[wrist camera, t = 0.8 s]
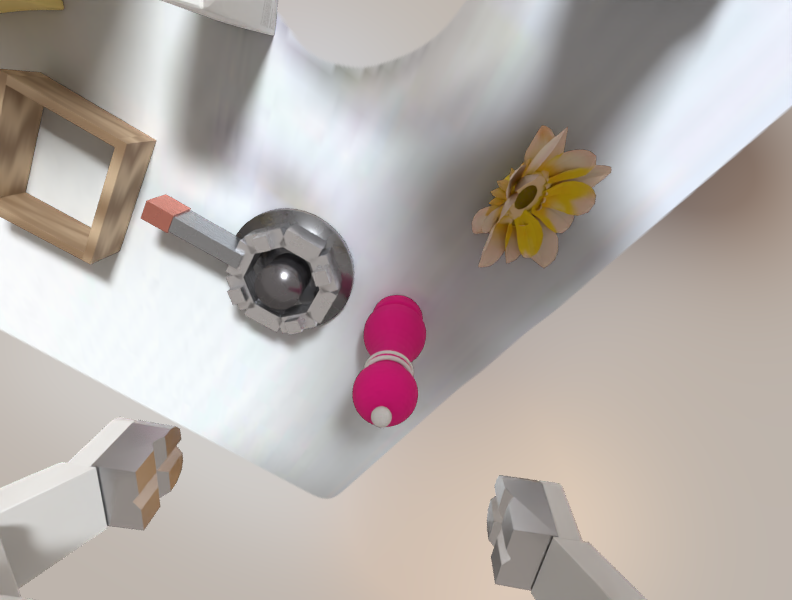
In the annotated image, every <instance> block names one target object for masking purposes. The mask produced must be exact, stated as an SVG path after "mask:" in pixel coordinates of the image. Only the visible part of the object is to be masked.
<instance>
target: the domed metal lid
mask: <svg viewBox="0 0 792 600" xmlns="http://www.w3.org/2000/svg"><path fill="white" fill-rule="evenodd" d="M285 222H289V224H290V226H292V225H293V224H294V223H297V224H298V225H300V226H302V227H303V228H305V229H307V230H308V231H310V232H312V233H314V234H315V235H317V236H319V237H320V238H322V239H324V240H325V241H327V242H328V243H327V244H326V246H325V248H329V247H332V249H333V252H334V255H335V258H336V261H337V264H338V268H339V271H340V274H341V277H342V282H341V284H340V285H341V286H342V287H341V289H340V291H339V293H338V295H337V296H336V298H335V300H334V301H333V303H332V305H331V307H330V308H329V310H328V312H327V313H326V315H325V317H324V318H323V320H322V322H321V323H317V325H316V326H318V325H320V324H323V323H325V322H327V321H329V320H330V319H332V318H333V317H334V316H336V315H337V314H338V313H339V312H340V311H341V309H342V308H343V307H344V305H345V304H346V302H347V300H348V298H349V296H350V293H351V290H352V287H353V282H354V265H353V260H352V257H351V254H350V251H349V249H348V247H347V245H346V243H345V241H344V240H343V239H342V237H341V236H340V234H339V233H338V232H337V231H336V230H335V229H334V228H333V227H332V226H331V225H329V224H328V223H327V222H326V221H324V220H323V219H321V218H319V217H317V216H316V215H314V214H311V213H308V212H306V211H302V210H298V209H290V208H283V209H274V210H270V211H267V212H264V213H262V214H260V215H258V216H256V217H254V218H253V219H251V220H250V221H249V222H247V223H246V224H245V225H244V226H243V227H242V228H241V229H240V231H239V232H238V233H237V235H236V236H237V237H239V238H240V239H243V238H244V237H245V236H246V235H248V234H249V233H251V232H252V231H254V230H256V229H260V228H264V227H268V226H272V225H277V224H281V223H285ZM325 248H324V249H325ZM253 269H254V271H255V274H256V276H257V277H256V279H255V284H254V286H255V292H256V294H257V296H258V298H259V299H260V300H261V301H262V302H263V303H264V304H265V305H267V306H268V307H270V308H273V309H279V310H282V309H287V308H290V307H291V306H295V305H300V304H305V303H310V302H313V300H314V299H315V297H316V295H317V293H318V292H319V287H318V286H317V287H316V285H315V282H314V279H313V276H312V272H313V270H312V267H311V264H310V262H308V261H306V260H305V259H303V258H301V257H299V256H298V255H296V254H294V253H292V252H291V251H289V250H287V249H286V248H284V247H280V248H276V249H272V250H270V251H265V252H261V254H260V256H259V258H258V260H257V262H256V264H255V266H254V268H253Z"/></svg>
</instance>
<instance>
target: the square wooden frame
mask: <svg viewBox="0 0 792 600" xmlns="http://www.w3.org/2000/svg"><path fill="white" fill-rule="evenodd" d="M44 107H46V108H47V109H49V110H51V111H52V112H54V113H56V114H58V115H59V116H61V117H63V118H65V119H66V120H68V121H70V122H72V123H73V124H75V125H77V126H79V127H80V128H82V129H84V130H85V131H87V132H89V133H91V134H92V135H94V136H96V137H98V138H99V139H101V140H103V141H105V142H106V143H108V144H110V145H111V146H113V147H115V148H114V152H113V155H112V159H111V162H110V165H109V169H108V172H107V176H106V179H105V183H104V186H103V189H102V193H101V196H100V200H99V203H98V207H97V210H96V213H95V217H94V220H93V224H92V227H91V228H90V227H89V226H87V225H85V224H83V223H81V222H79V221H78V220H76V219H74V218H72V217H70V216H68V215H67V214H65V213H63V212H61V211H59V210H57V209H55V208H54V207H52V206H50V205H48V204H46V203H44V202H43V201H41V200H39V199H37V198H35V197H33V196H31V195H30V194H28V193H26V187H27V183H28V178H29V173H30V168H31V164H32V159H33V154H34V150H35V145H36V140H37V136H38V131H39V126H40V122H41V117H42V112H43V108H44ZM155 143H156V140H155V139H153V138H151V137H150V136H148V135H146V134H144V133H143V132H141V131H139V130H138V129H136V128H134V127H133V126H131V125H129V124H127V123H126V122H124V121H122V120H121V119H119V118H117V117H115V116H114V115H112V114H110V113H109V112H107V111H105V110H104V109H102V108H100V107H98V106H97V105H95V104H93V103H92V102H90V101H88V100H87V99H85V98H83V97H81V96H80V95H78V94H76V93H75V92H73V91H71V90H70V89H68V88H66V87H64V86H63V85H61V84H59V83H58V82H56V81H54V80H53V79H51V78H49V77H47V76H46V75H44V74H42V73H41V72H30V71H19V70H8V69H0V217H2V218H4V219H5V220H7V221H9V222H11V223H13V224H15V225H17V226H19V227H21V228H22V229H24V230H26V231H28V232H30V233H32V234H34V235H36V236H38V237H39V238H41V239H43V240H45V241H47V242H49V243H51V244H53V245H55V246H56V247H58V248H60V249H62V250H64V251H66V252H68V253H70V254H72V255H73V256H75V257H77V258H79V259H81V260H83V261H85V262H87V263H89V264H93V263H95V262H97V261H99V260H101V259H104V258H106V257H108V256H110V255H112V254H115V253H117V252H119V251H120V249H121V246H122V243H123V240H124V237H125V234H126V230H127V227H128V224H129V221H130V218H131V215H132V212H133V209H134V206H135V203H136V200H137V197H138V194H139V191H140V188H141V185H142V182H143V179H144V176H145V173H146V170H147V167H148V164H149V161H150V158H151V155H152V152H153V149H154V146H155Z"/></svg>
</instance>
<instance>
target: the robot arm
mask: <svg viewBox="0 0 792 600" xmlns="http://www.w3.org/2000/svg"><path fill="white" fill-rule="evenodd" d="M180 440H181V434H180V429H179V428H178V427H176V426H170V425H164V424H159V423H153V422H147V421H141V420H133V419H128V418H122V417H118V418H116V419H113V420H112V421H110V422H109V423H108V424H107V425H106V426H105V427H104V428H103V429H102V430H101V431H100V432H99V433H98V434H97V435H96V436H95V437H94V438H93V439H92V440H91V441H89V442H88V444H86V445H85V446H84V447H83V448H82V449H81V450H80V451H79V452H78V453H77V454H76V455H75V456H74V457H73V458H72V459H71V460H70V461H69V462H68V463H64V462H60V463H58V464H55V465H53V466H51V467H48V468H46V469H43V470H41V471H39V472H37V473H34V474H32V475H29V476H27V477H25V478H22V479H20V480H18V481H15V482H13V483H11V484H8V485H6V486H4V487H1V488H0V600H34V599H28V598H21V595H20V592H19V588H20V587H22V586H23V585H25V584H26V583H28V582H29V581H31V580H32V579H34V578H35V577H37V576H38V575H40V574H41V573H42V572H44V571H45V570H47V569H48V568H50V567H51V566H53V565H54V564H55V563H57V562H58V561H60V560H62V559H63V558H64V557H66V556H67V555H69V554H70V553H72V552H73V551H75V550H76V549H78V548H79V547H80V546H82V545H83V544H85V543H86V542H88V541H89V540H91V539H92V538H94V537H95V536H97V535H98V534H99V533H101V532H103V531H104V530H105V529H107V526H112V527H121V528H129V529H137V530H144V529H145V528H146V527H147V525H148V523H149V522H150V521H151V519H152V518H153V517H154V515H155V514H156V512H157V511H158V509H159V508H160V500H159V498H160V497H162V496H164V495H165V494H167V493H169V492H170V491H171V490H172V489H173V487H174V486H175V484H176V483H177V480H178V478H179V475H180V473H181V470H182V463H183V455H182V452H181V451H180V449H179V448H178V447H177V444H178V443H179V442H180ZM495 492H496V496H495V497H494V498H492V499H491V500H490V504H489V508H488V515H487V532H488V539H489V541H490V542H491V543H492V545H493V546H494V549H493V552H492V555H491V560H492V566H493V573H494V580H495V584H498V585H503V586H508V587H514V588H519V589H525V590H530V591H531V594H532V595H533V596H534V598H535V599H536V600H647V599H646V598H645V597H644V596H643V595H642V594H641V593H640V592H639V591H638V590H637V589H636V588H635V587H633V585H632V584H631V583H630V582H629V581H628V580H627V579H626V578H625V577H624V576H623V575H622V574H621V573H620V572H619V571H618V570H616V568H615V567H614V566H613V565H611V563H609V562H608V561H607V560H606V559H605V558H604V557H603V556H602V555H601V554H600V553H599V552H598V551H597V550H596V549H595V548H594V547H593V546H592V545H591V544H590V543H589V542H585V541H583V540H582V538H581V535H580V533H579V530H578V527H577V524H576V522H575V519H574V516H573V514H572V511H571V509H570V506H569V503H568V500H567V498H566V495H565V493H564V490H563V487H562V486H561V485H560V484H559V483H554V482H546V481H537V480H530V479H524V478H517V477H509V476H503V475H499V477H498V478H497V480H496V484H495Z"/></svg>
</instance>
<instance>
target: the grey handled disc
mask: <svg viewBox="0 0 792 600" xmlns="http://www.w3.org/2000/svg"><path fill="white" fill-rule="evenodd" d="M190 209H191V208H189V207H187V206H186V205H184V204H182V203H180V202H179V201H177V200H175V199H173V198H172V197H170V196H168V195H166V194H165V195H162V196H159V197H156V198H153V199H150V200H147V201H146V204H145V207H144V210H143V213H142V216H141V219H143V220H145V221H146V222H148V223H150V224H152V225H153V226H155V227H157V228H159V229H161V230H162V231H164V232H166V233H168V232H170V233H172V234H174V235H176V236H178V237H179V238H181V239H183V240H185V241H187V242H188V243H190V244H192V245H194V246H196V247H197V248H199V249H201V250H203V251H205V252H206V253H208V254H210V255H212V256H214V257H215V258H217V259H219V260H221V261H223V262H224V263H226V264H228V267H227V270H226V272H228V273H229V275H228V276H227V277H226V279H227V282H228V284H229V286H230V289H229V290H228V291H227V292H228V295H229V297H230V299H231V301H232V304H237V305H238V307H239V310H244V309H247V310H246V312H245V314H244V315H245V316H247V317H249V318H251V319H253V320H254V321H256V322H258V323H260V324H262V325H264V326H266V327H267V328H269V329H271V330H273V331H275V332H277V331H278V329H279V328H280V329H281V331H282V333H287V332H288V334H289V335H291V334H296V333H301V332H302V331H303V330H304V329H308V328H313V327H316V325H317V323H321V322H322V320H323V318H324V317H325V315H326V313H327V312H328V310H329V308H330V307H331V305H332V303H333V301H334V300H335V298H336V296H337V295H338V293H339V291H340V289H341V287H342V286H341V285H340V284H341V282H342V277H341V274H340V271H339V268H338V264H337V261H336V258H335V255H334V252H333V249H332V247H329V248H325V246H326V244H327V243H328V242H327V241H325V240H324V239H322V238H320V237H319V236H317V235H315V234H314V233H312V232H310V231H308V230H307V229H305V228H303V227H302V226H300V225H298V224H297V223H294V224H293V225H292V226H290V224H289V222H285V223H281V224H277V225H272V226H268V227H264V228H260V229H256V230H254V231H252V232H251V233H249V234H248V235H246V236H245V237H244V238H243V239H240V238H239V237H237V236H235V235H233V234H232V233H230V232H228V231H226V230H224V229H223V228H221V227H219V226H217V225H216V224H214V223H212V222H210V221H209V220H207V219H205V218H203V217H202V216H200V215H198V214H196V213H195V212H193V211H191V210H190ZM280 247H284V248H286V249H287V250H289V251H291V252H292V253H294V254H296V255H298V256H299V257H301V258H303V259H305V260H306V261H308V262H310V264H311V267H312V270H313V272H312V276H313V279H314V282H315V285H316V287H317V286H318V287H319V292H318V293H317V295H316V297H315V299H314V300H313V302H310V303H305V304H300V305H295V306H291V307H290V308H287V309H282V310H279V309H273V308H270V307H268V306H267V305H265V304H264V303H263V302H262V301H261V300H260V299H259V298H258V296H257V294H256V292H255V286H254V284H255V279H256V277H257V276H256V274H255V271H254V269H253V268H254V266H255V264H256V262H257V260H258V258H259V256H260V254H261V252H265V251H270V250H272V249H276V248H280ZM324 248H325V249H324Z"/></svg>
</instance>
